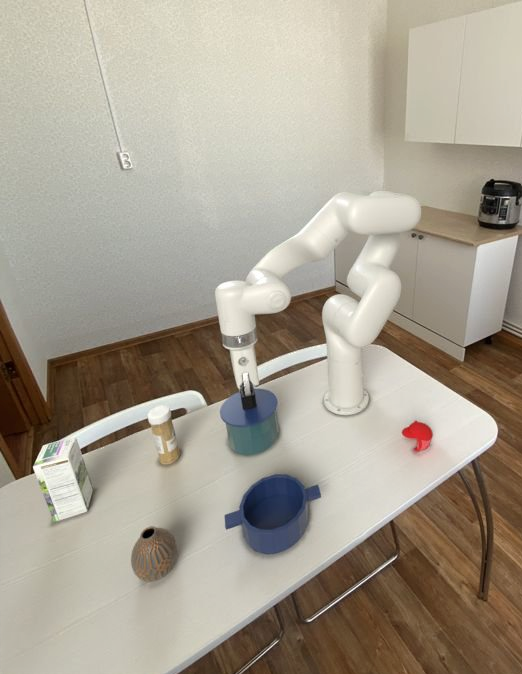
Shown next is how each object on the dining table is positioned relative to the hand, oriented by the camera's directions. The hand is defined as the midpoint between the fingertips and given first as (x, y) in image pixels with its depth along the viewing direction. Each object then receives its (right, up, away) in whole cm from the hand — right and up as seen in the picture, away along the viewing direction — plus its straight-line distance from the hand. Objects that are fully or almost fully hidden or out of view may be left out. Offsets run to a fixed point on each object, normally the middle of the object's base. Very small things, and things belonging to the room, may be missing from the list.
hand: (248, 402), depth 92 cm
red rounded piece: (+40, -10, 0) cm, 42 cm away
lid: (0, -1, 0) cm, 1 cm away
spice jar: (-18, -12, -2) cm, 22 cm away
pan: (+10, -17, -17) cm, 27 cm away
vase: (-8, -21, -25) cm, 34 cm away
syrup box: (-32, -17, -13) cm, 38 cm away
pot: (0, -10, +4) cm, 10 cm away
